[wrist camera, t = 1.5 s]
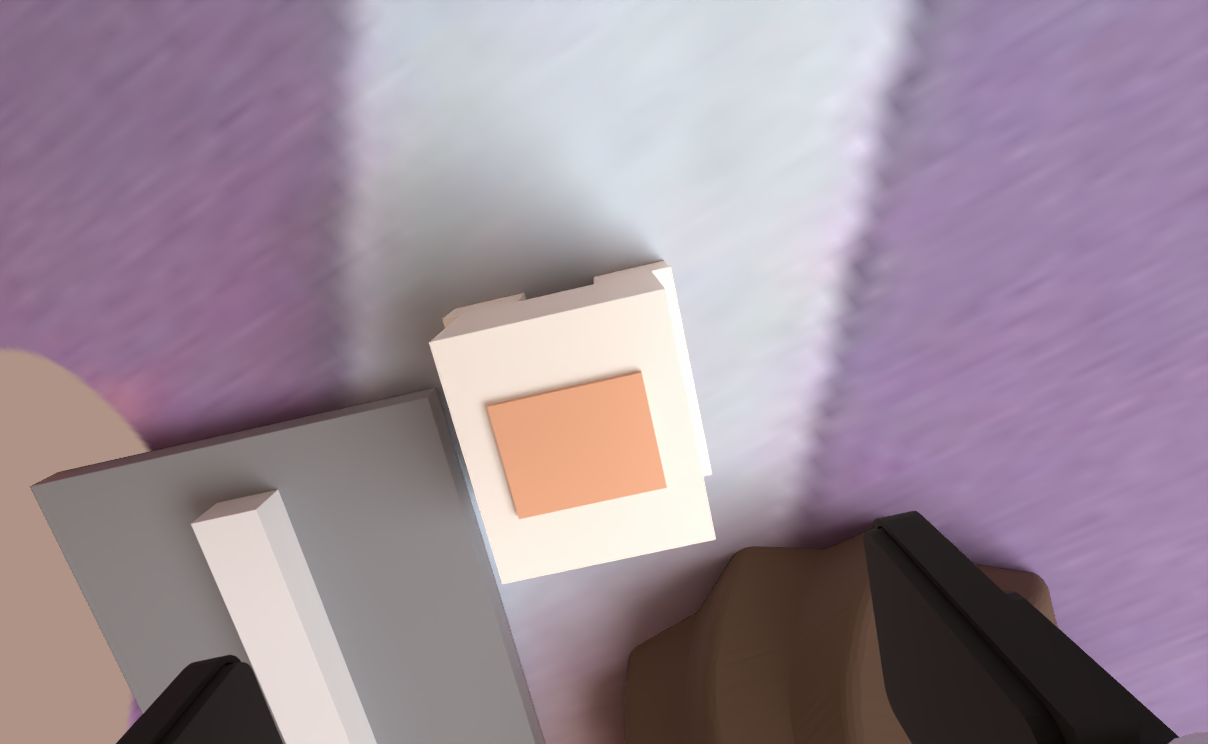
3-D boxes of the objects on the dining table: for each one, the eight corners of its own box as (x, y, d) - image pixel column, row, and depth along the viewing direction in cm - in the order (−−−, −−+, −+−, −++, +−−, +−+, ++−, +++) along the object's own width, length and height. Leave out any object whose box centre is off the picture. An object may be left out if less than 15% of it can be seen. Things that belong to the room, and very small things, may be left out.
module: (455, 308, 22) (403, 349, 16) (664, 260, 22) (690, 284, 16) (508, 493, 24) (479, 593, 18) (702, 452, 24) (739, 538, 18)
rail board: (57, 472, 23) (-10, 507, 21) (436, 387, 23) (415, 411, 20) (223, 816, 27) (184, 881, 25) (548, 752, 27) (543, 812, 24)
